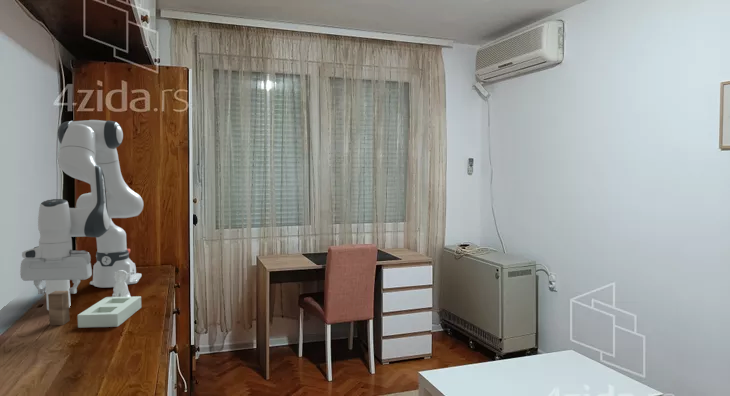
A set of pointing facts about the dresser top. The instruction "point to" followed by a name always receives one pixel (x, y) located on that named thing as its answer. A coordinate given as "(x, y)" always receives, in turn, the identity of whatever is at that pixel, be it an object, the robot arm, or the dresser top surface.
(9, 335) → the dresser top surface
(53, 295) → the wood grain block
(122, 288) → the sitting furry creature
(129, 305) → the socket board
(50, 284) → the cylindrical container
